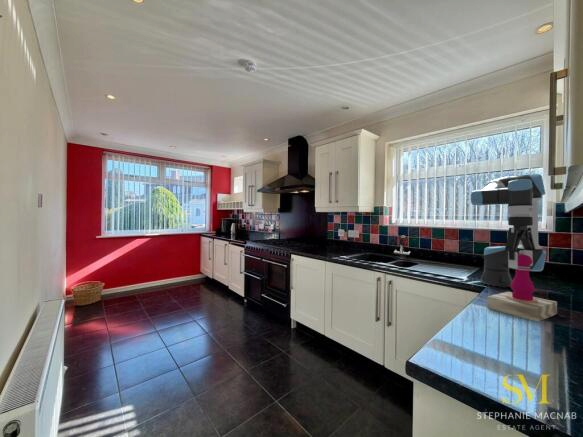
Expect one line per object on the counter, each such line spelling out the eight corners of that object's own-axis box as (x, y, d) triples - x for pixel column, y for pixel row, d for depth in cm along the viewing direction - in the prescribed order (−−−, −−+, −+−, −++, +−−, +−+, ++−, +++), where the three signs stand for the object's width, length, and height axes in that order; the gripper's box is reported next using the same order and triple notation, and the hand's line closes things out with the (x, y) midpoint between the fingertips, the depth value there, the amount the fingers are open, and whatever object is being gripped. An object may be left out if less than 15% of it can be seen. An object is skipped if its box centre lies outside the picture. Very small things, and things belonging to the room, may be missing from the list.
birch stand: (507, 302, 112) (507, 291, 112) (557, 314, 98) (556, 300, 98) (487, 308, 104) (487, 295, 104) (537, 321, 90) (537, 307, 90)
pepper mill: (506, 296, 103) (506, 249, 104) (518, 295, 105) (517, 249, 106) (526, 301, 96) (526, 251, 97) (539, 300, 98) (538, 251, 99)
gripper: (517, 215, 93) (518, 270, 93) (544, 216, 104) (545, 265, 104) (494, 216, 100) (494, 267, 99) (522, 216, 111) (522, 263, 111)
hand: (520, 266), depth 102 cm, fingers open, 13 cm apart
